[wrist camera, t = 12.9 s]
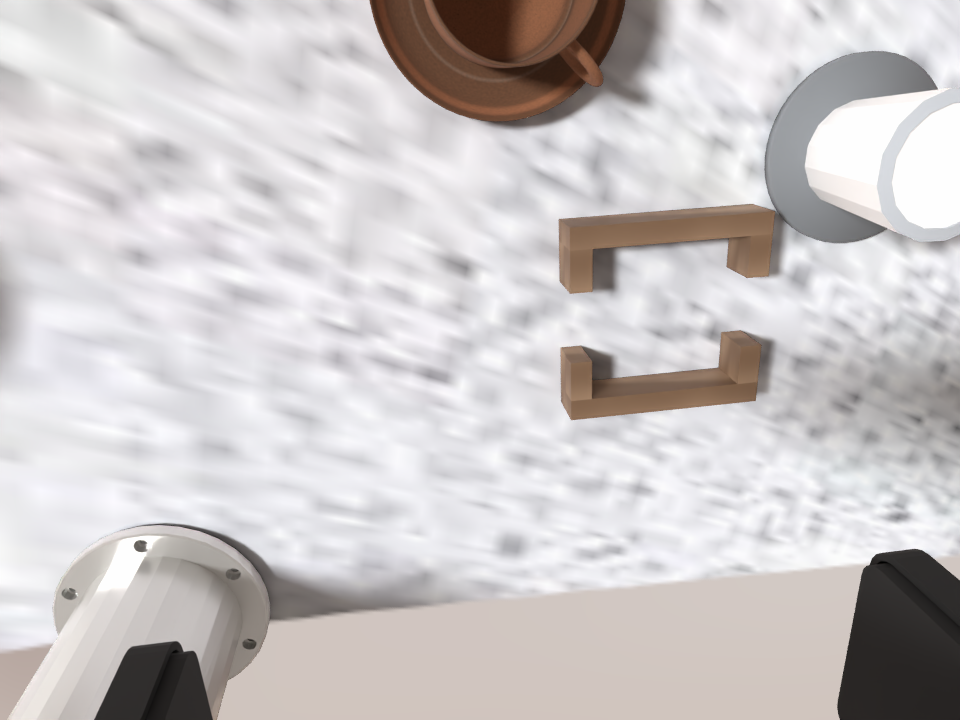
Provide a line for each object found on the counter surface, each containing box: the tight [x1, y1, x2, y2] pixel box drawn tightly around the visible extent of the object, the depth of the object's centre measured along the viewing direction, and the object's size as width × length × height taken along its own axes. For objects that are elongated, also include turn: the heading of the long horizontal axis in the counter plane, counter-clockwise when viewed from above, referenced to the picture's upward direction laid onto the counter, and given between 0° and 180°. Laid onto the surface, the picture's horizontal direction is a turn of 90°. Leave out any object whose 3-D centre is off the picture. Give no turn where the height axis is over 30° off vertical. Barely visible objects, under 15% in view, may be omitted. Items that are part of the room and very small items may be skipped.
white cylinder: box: [805, 88, 960, 242], centre depth 34 cm, size 7×7×7 cm
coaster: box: [765, 51, 938, 243], centre depth 38 cm, size 10×10×1 cm
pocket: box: [559, 204, 775, 420], centre depth 39 cm, size 11×11×2 cm
